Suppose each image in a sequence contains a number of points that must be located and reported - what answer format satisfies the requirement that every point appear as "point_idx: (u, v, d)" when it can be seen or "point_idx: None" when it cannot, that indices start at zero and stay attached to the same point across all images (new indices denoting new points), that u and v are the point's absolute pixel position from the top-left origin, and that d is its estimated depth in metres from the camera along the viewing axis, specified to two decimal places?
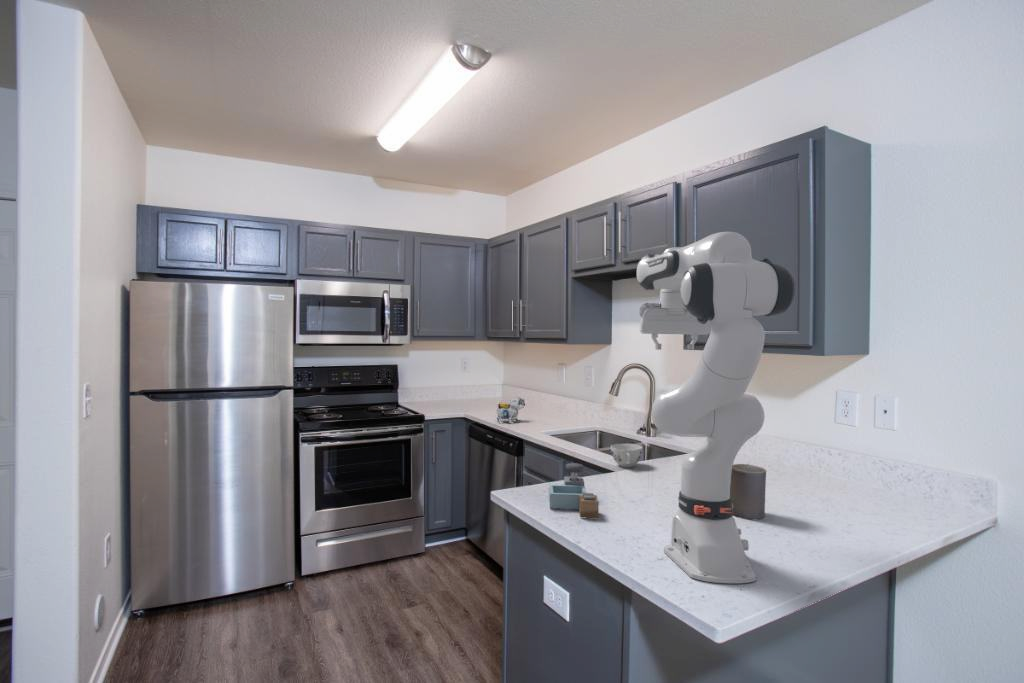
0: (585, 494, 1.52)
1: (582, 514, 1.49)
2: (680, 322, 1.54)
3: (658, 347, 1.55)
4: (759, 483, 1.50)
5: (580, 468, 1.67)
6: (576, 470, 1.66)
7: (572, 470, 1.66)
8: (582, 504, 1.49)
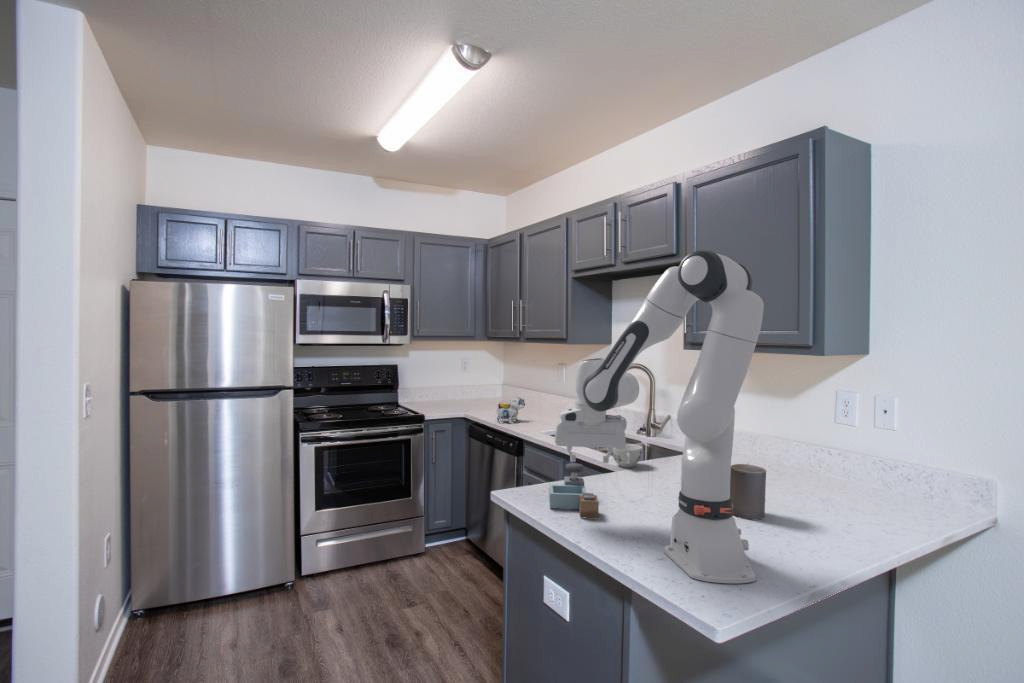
0: (585, 494, 1.52)
1: (582, 514, 1.49)
2: None
3: None
4: (759, 483, 1.50)
5: (580, 468, 1.67)
6: (576, 470, 1.66)
7: (572, 470, 1.66)
8: (582, 504, 1.49)
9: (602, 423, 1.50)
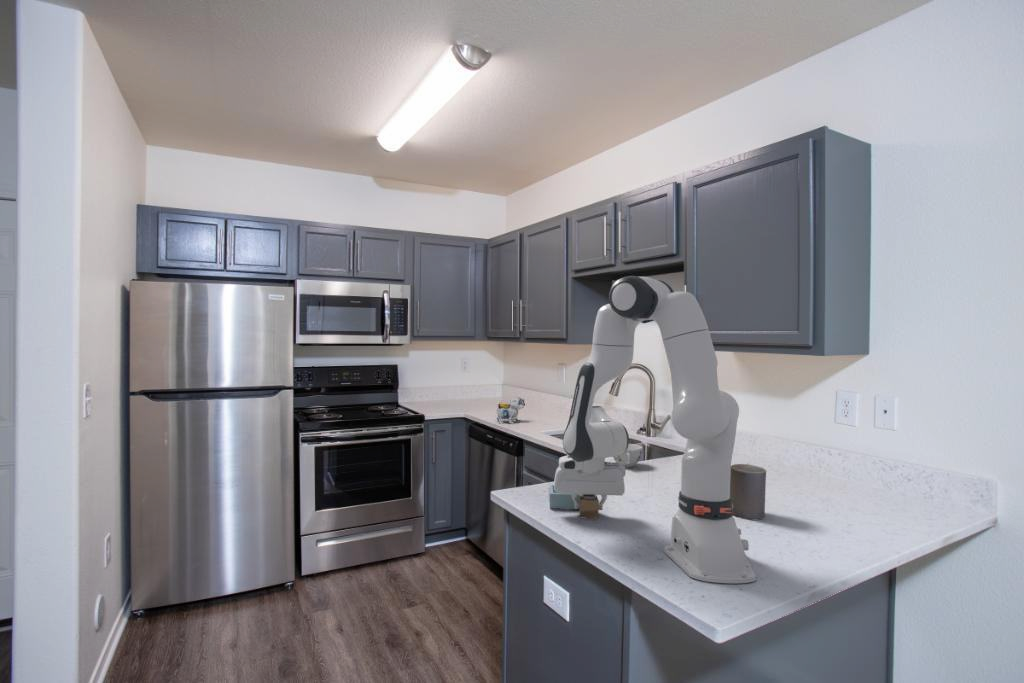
0: (585, 494, 1.52)
1: (582, 514, 1.49)
2: None
3: None
4: (759, 483, 1.50)
5: None
6: None
7: None
8: (582, 504, 1.49)
9: (601, 471, 1.50)
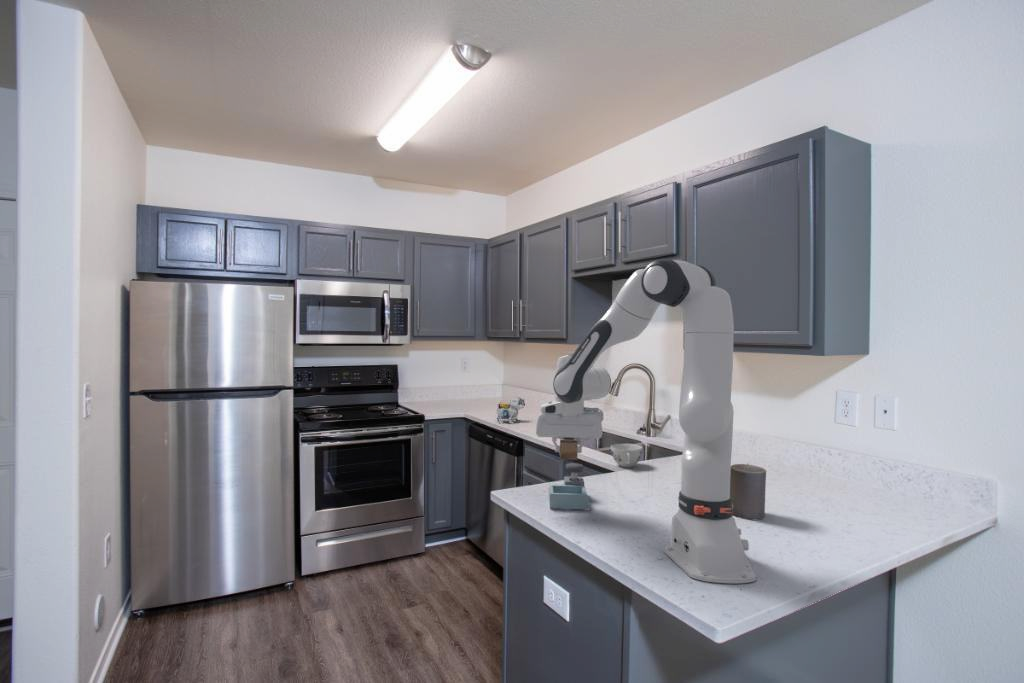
0: None
1: (562, 455, 1.58)
2: None
3: None
4: (759, 483, 1.50)
5: (580, 468, 1.67)
6: (576, 470, 1.66)
7: (572, 470, 1.66)
8: (562, 446, 1.58)
9: (580, 415, 1.59)
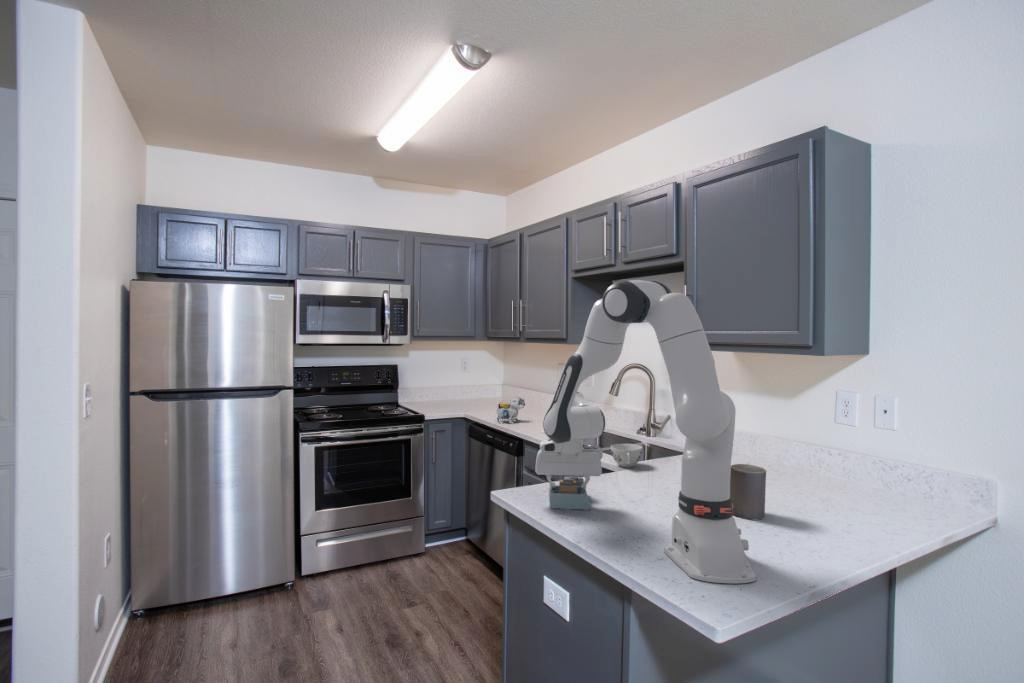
0: (565, 480, 1.61)
1: None
2: None
3: None
4: (759, 483, 1.50)
5: None
6: None
7: None
8: (561, 489, 1.58)
9: (579, 453, 1.59)
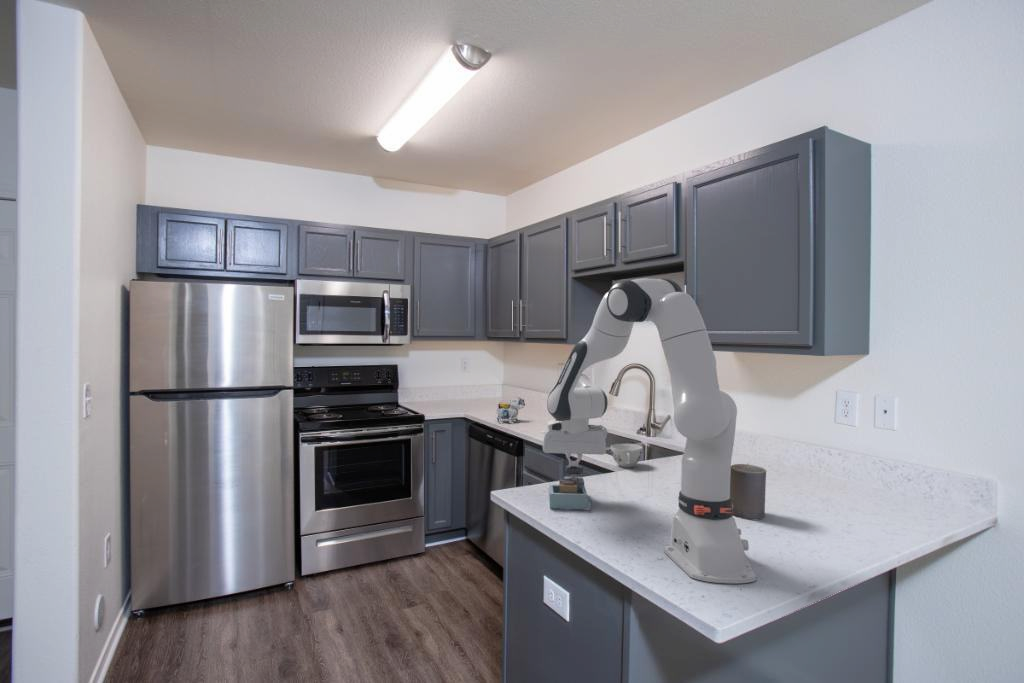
0: (565, 480, 1.61)
1: None
2: None
3: None
4: (759, 483, 1.50)
5: (580, 470, 1.67)
6: (576, 472, 1.66)
7: (572, 472, 1.66)
8: (561, 489, 1.58)
9: (585, 432, 1.67)
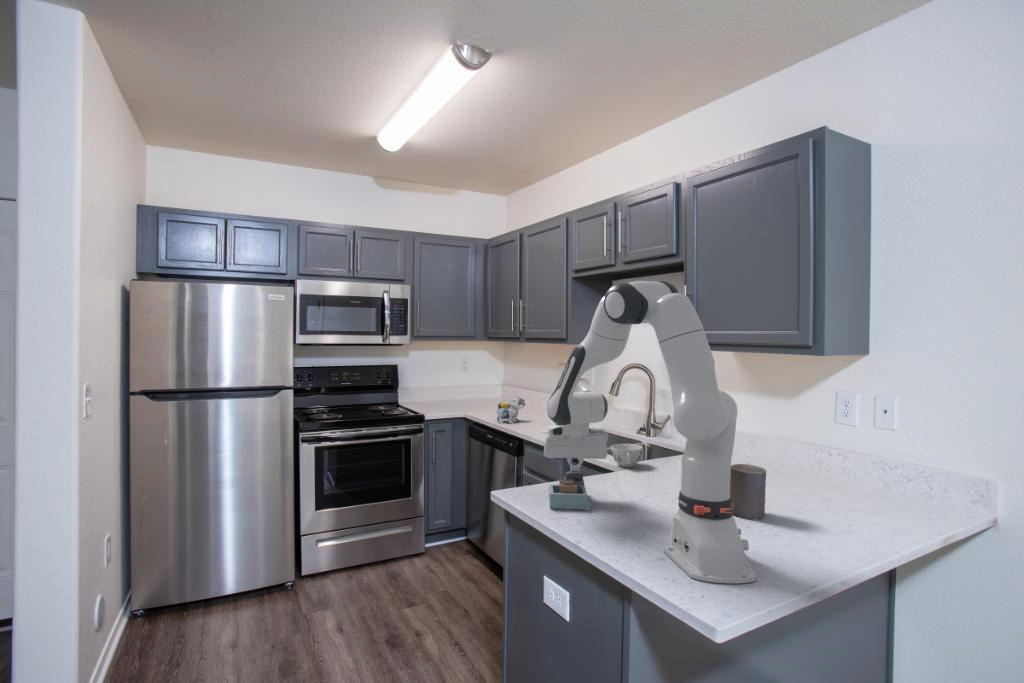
0: (565, 480, 1.61)
1: None
2: None
3: None
4: (759, 483, 1.50)
5: (580, 476, 1.67)
6: (576, 478, 1.66)
7: (572, 478, 1.66)
8: (561, 489, 1.58)
9: (586, 436, 1.67)
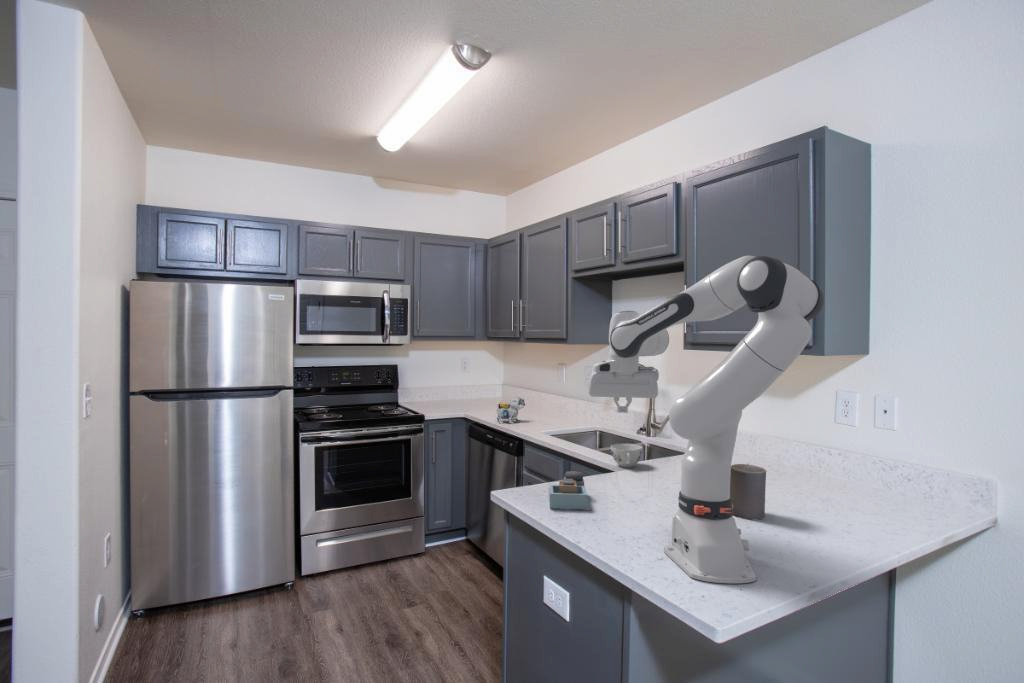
0: (565, 480, 1.61)
1: None
2: None
3: None
4: (759, 483, 1.50)
5: (580, 476, 1.67)
6: (576, 478, 1.66)
7: (572, 478, 1.66)
8: (561, 489, 1.58)
9: (635, 374, 1.54)
